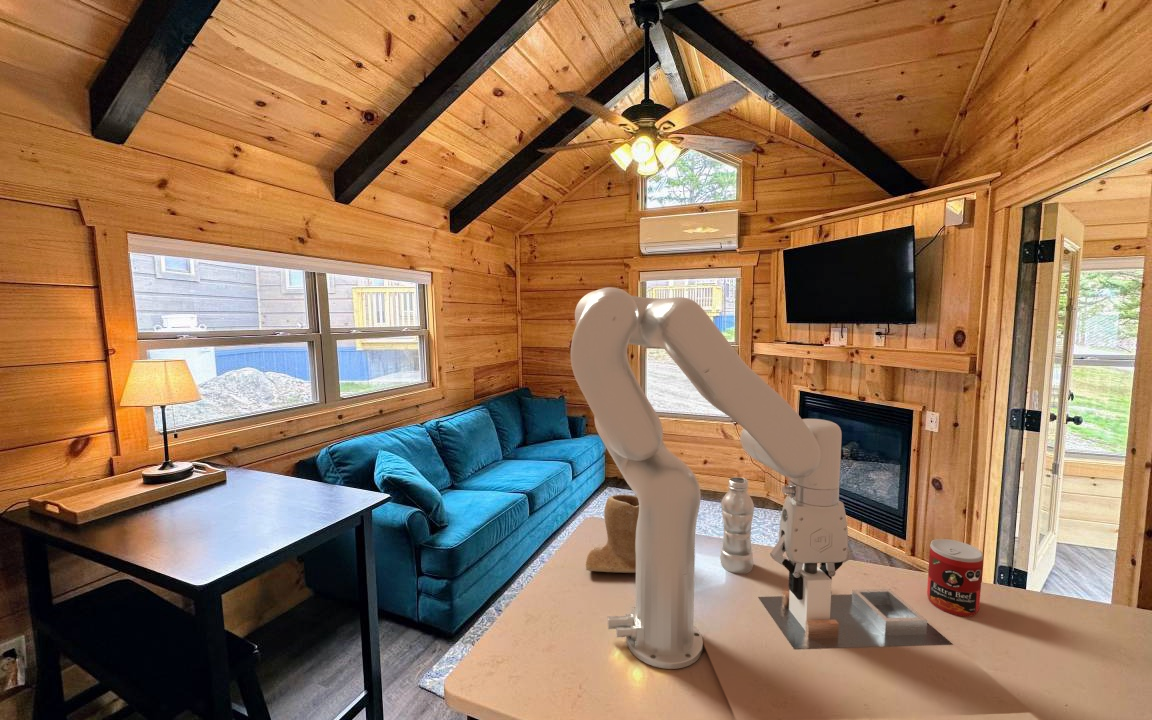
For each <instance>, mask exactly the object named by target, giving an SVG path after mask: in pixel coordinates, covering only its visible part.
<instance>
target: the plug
mask: <svg viewBox="0 0 1152 720" xmlns="http://www.w3.org/2000/svg"><path fill="white" fill-rule="evenodd" d="M801 577H802V578H803V597H802V600H798V599H797V598H796V596H795V595H794V594H793V593H792V592H791V591H790V590H789V591H790V593H789V610H790V612H791V613H792V614H793V615H794V617H795V618H796V619H797V621H798V622H799V623H800V625H801V626H802V627H803V628H804V630H805V626H806V620H830V606H831V595H832V580H833V579H832V580H831V579H830V578H829V577H828V576H827V575H826V574H825V573H824V572H823V571H822V570H821V569H820V566H818V563H803V566H802V571H801Z"/></svg>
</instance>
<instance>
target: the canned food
mask: <svg viewBox="0 0 1152 720" xmlns="http://www.w3.org/2000/svg"><path fill="white" fill-rule="evenodd" d="M983 564H984V553H983V552H982V551H981V550H980V549H978V548H977V547H975V546H974V545H971V544H968V543H965V542H962V541H958V540H955V539H947V538H937V539H933V540H931V542H930V545H929V555H928V574H927V589H926V590H927V591H926V593H927V598H928V601H929V602H930V604H932V605H933V606H934V607H936V609H938V610H941V611H943V612H946V613H948V614H951V615H955V616H959V617H972V616H975V615H977V613H978V612H979V609H980V602H981V592H982V591H981V590H982V580H983V579H982V577H983V569H984V568H983V567H984V565H983Z"/></svg>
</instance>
